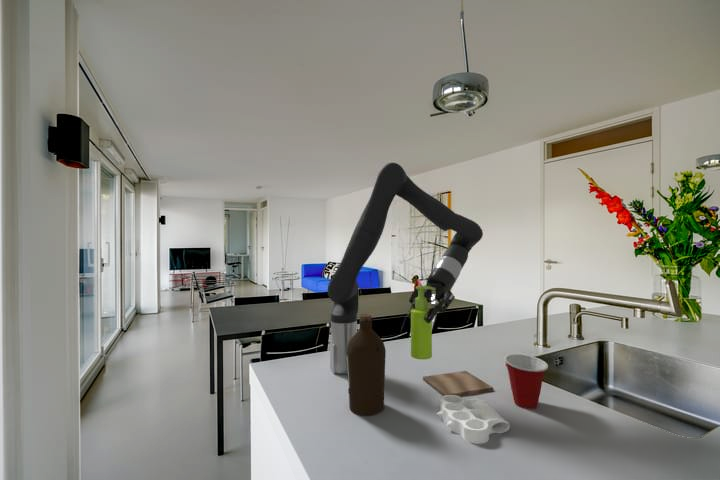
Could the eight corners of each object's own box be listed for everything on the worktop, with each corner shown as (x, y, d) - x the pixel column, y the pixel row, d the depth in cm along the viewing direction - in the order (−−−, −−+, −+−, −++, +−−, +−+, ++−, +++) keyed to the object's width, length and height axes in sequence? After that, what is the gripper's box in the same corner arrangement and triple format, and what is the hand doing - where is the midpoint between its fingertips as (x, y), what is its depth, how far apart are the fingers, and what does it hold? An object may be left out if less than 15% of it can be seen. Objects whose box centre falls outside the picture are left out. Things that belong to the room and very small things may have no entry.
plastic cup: (531, 418, 86) (530, 370, 86) (496, 400, 95) (495, 357, 96) (558, 407, 91) (557, 362, 91) (522, 392, 100) (521, 351, 101)
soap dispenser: (435, 360, 94) (435, 288, 94) (410, 358, 96) (410, 287, 95) (435, 353, 100) (435, 285, 100) (411, 351, 101) (411, 284, 101)
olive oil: (391, 401, 96) (389, 312, 96) (379, 420, 86) (377, 320, 86) (356, 396, 99) (354, 310, 100) (340, 413, 90) (339, 317, 90)
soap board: (445, 398, 97) (445, 394, 97) (422, 379, 111) (422, 376, 111) (493, 390, 102) (493, 387, 102) (465, 373, 115) (465, 370, 115)
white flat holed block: (518, 441, 77) (456, 448, 74) (478, 404, 94) (427, 408, 92) (517, 426, 77) (456, 432, 74) (478, 392, 94) (427, 396, 92)
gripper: (421, 265, 108) (393, 307, 101) (458, 267, 97) (430, 315, 89) (432, 280, 111) (406, 322, 104) (470, 284, 100) (444, 332, 93)
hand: (418, 319), depth 97 cm, fingers closed on soap dispenser, 6 cm apart
